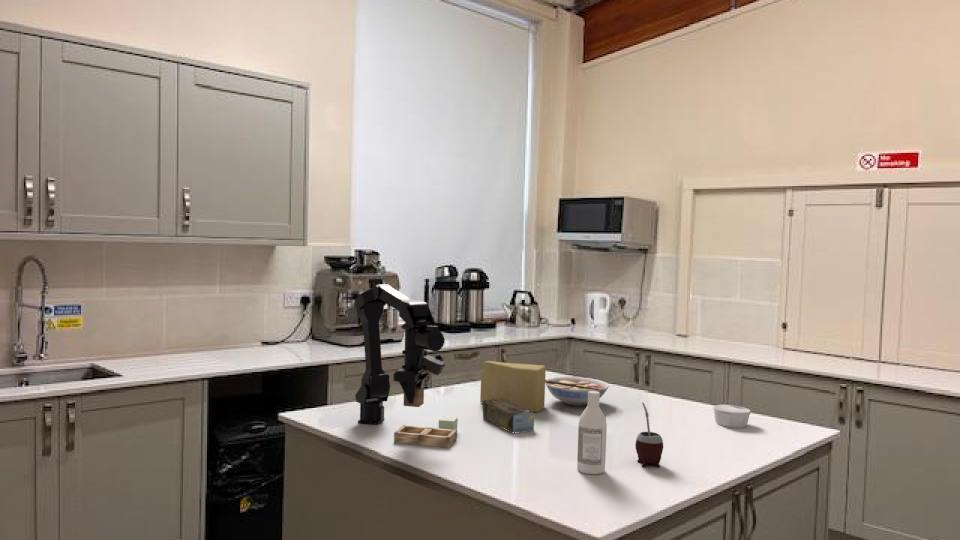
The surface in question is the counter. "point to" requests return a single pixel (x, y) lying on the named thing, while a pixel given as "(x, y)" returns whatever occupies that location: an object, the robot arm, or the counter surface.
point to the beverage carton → (508, 415)
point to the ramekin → (731, 416)
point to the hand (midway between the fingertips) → (413, 401)
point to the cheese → (514, 384)
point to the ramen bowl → (575, 389)
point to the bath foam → (592, 437)
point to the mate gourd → (649, 446)
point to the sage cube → (448, 423)
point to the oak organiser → (425, 436)
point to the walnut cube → (416, 398)
